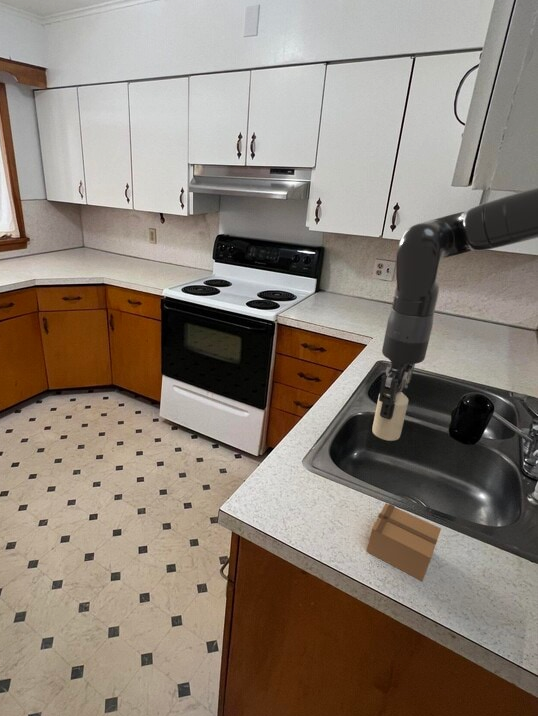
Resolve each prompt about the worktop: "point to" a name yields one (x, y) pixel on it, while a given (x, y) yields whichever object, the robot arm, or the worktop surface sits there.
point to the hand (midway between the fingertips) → (390, 410)
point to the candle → (393, 426)
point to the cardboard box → (403, 541)
